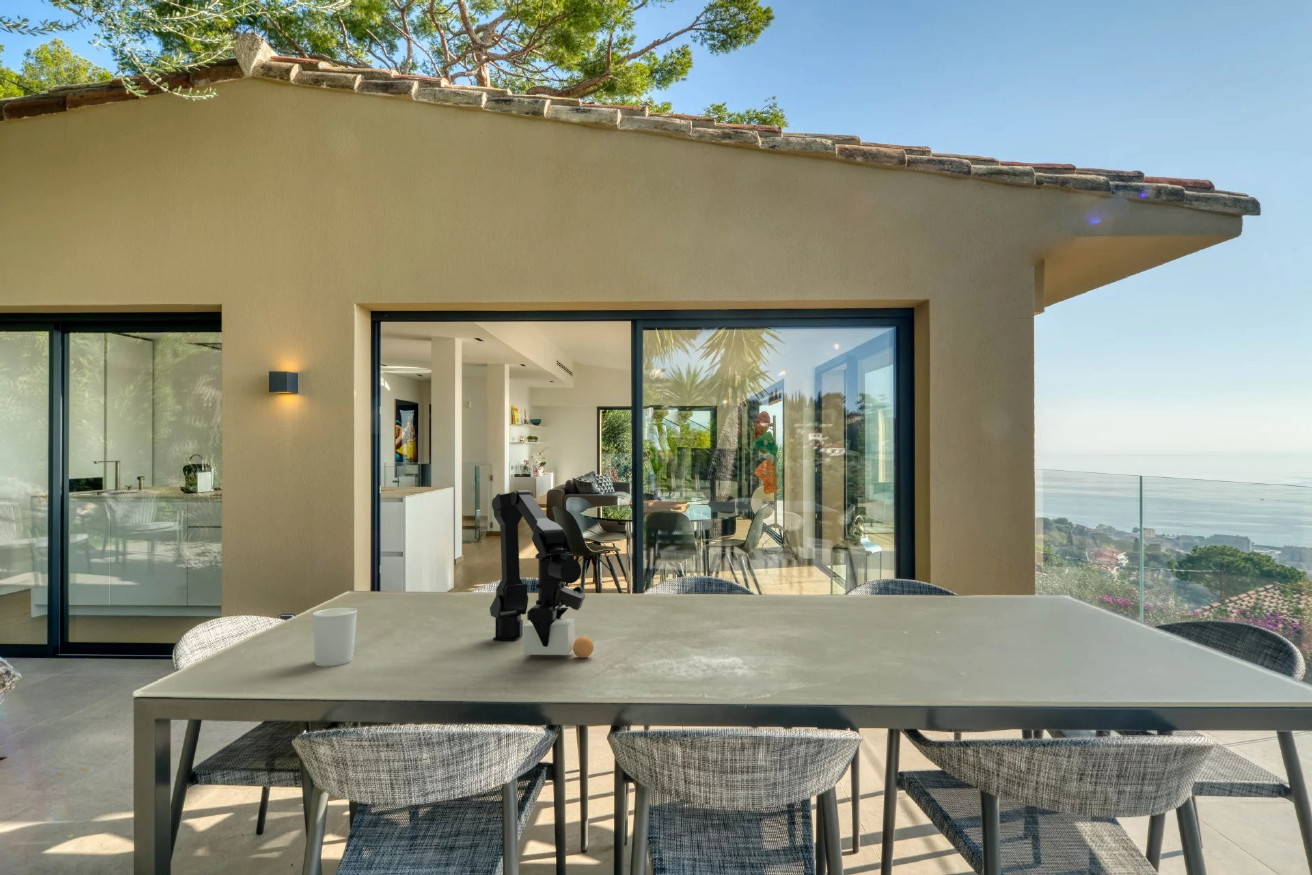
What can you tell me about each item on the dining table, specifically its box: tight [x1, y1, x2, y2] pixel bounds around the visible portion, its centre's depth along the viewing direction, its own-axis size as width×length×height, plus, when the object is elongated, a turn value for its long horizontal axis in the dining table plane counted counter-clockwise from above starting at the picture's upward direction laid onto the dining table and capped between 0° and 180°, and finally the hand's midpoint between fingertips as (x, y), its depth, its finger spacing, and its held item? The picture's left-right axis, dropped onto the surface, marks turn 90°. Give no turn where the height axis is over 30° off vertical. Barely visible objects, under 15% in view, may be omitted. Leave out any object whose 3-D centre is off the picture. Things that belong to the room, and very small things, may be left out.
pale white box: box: [522, 618, 576, 656], centre depth 160 cm, size 11×8×7 cm
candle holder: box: [312, 607, 358, 668], centre depth 157 cm, size 10×10×12 cm
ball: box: [572, 636, 594, 659], centre depth 159 cm, size 5×5×5 cm
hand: (549, 642), depth 160 cm, fingers closed on pale white box, 7 cm apart
